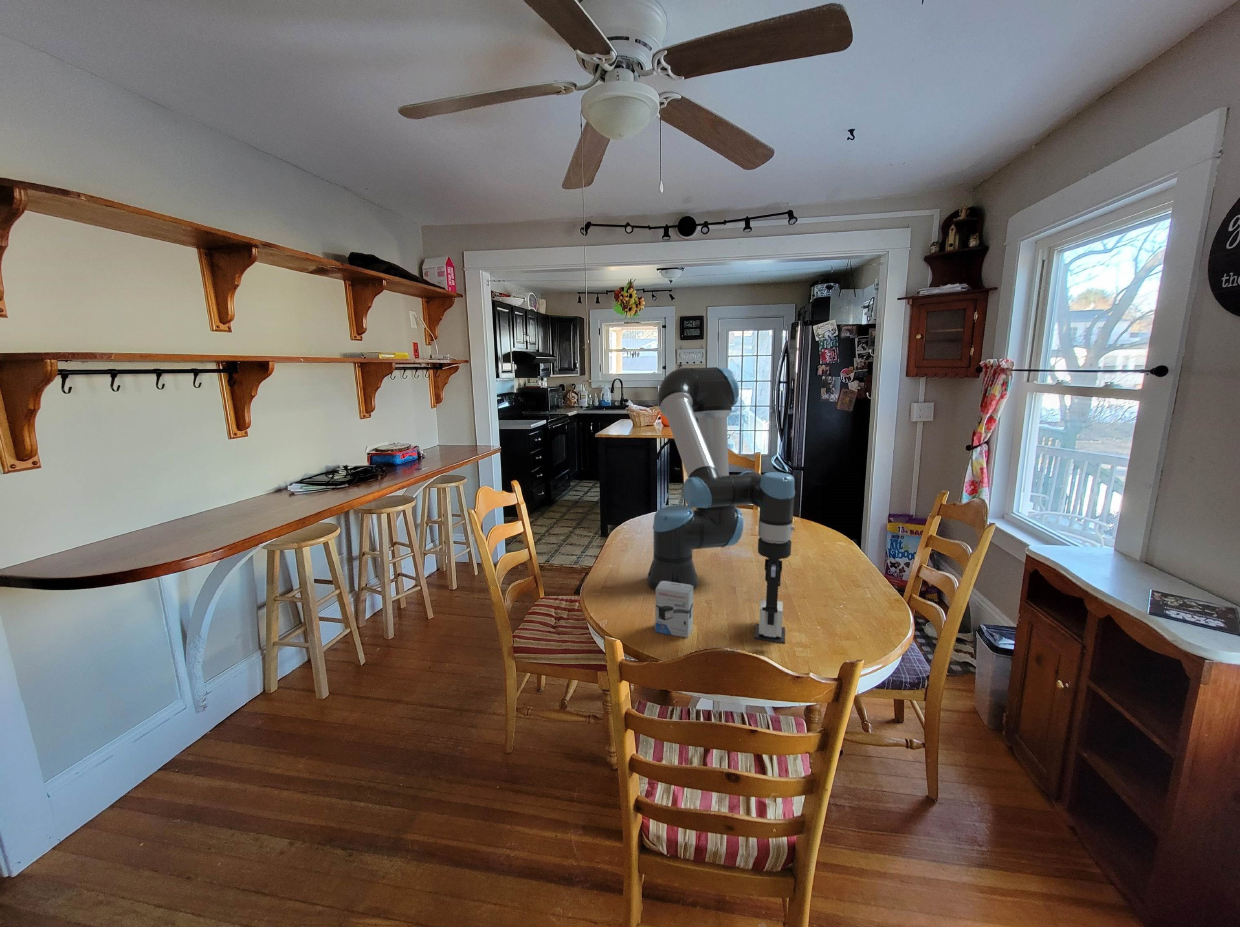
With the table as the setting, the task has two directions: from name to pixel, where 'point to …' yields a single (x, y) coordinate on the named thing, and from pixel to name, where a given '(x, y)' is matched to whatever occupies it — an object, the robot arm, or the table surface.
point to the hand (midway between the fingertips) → (770, 622)
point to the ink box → (674, 608)
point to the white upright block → (779, 617)
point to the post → (767, 638)
